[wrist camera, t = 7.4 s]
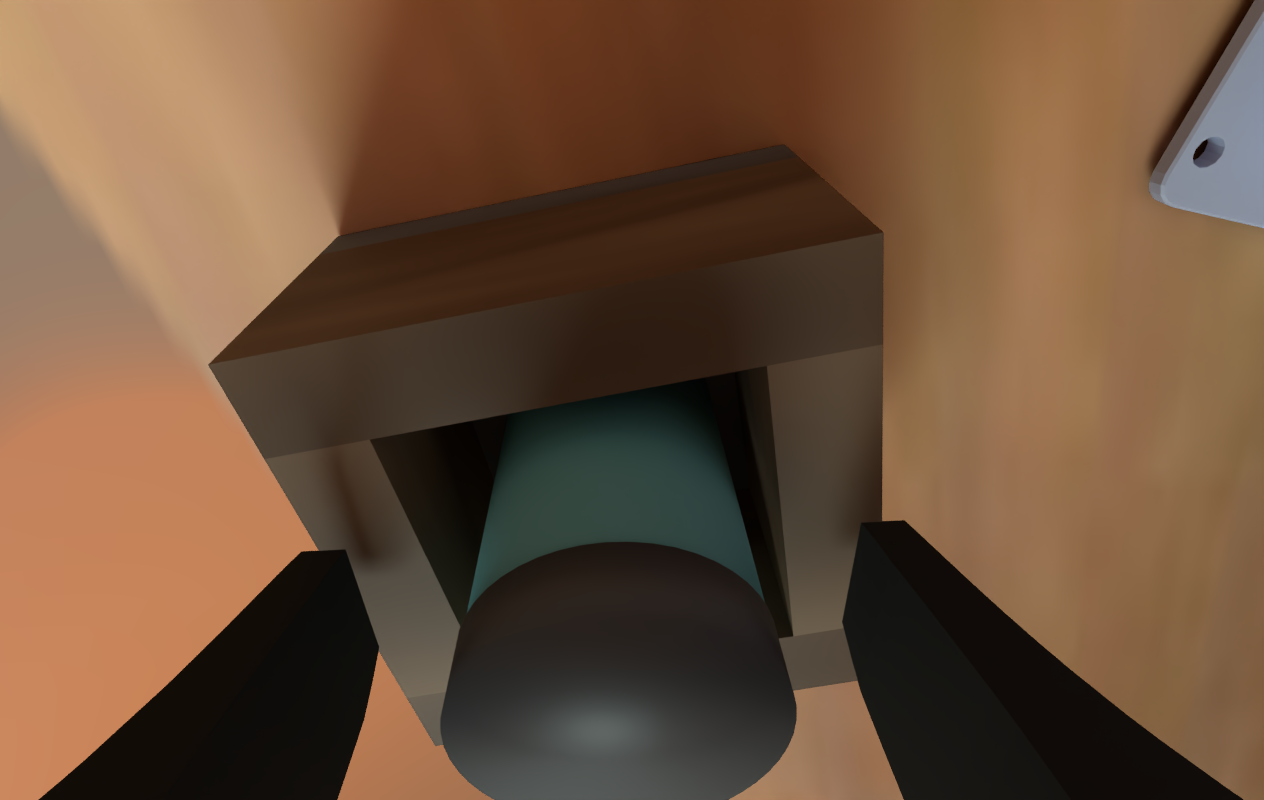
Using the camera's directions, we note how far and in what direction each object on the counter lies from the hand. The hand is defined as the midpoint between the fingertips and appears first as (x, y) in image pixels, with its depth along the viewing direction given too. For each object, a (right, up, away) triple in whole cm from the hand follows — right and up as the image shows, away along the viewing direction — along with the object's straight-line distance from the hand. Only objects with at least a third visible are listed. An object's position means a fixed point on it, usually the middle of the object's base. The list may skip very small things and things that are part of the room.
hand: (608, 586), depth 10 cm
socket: (0, +3, +5) cm, 6 cm away
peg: (0, +2, +4) cm, 5 cm away
